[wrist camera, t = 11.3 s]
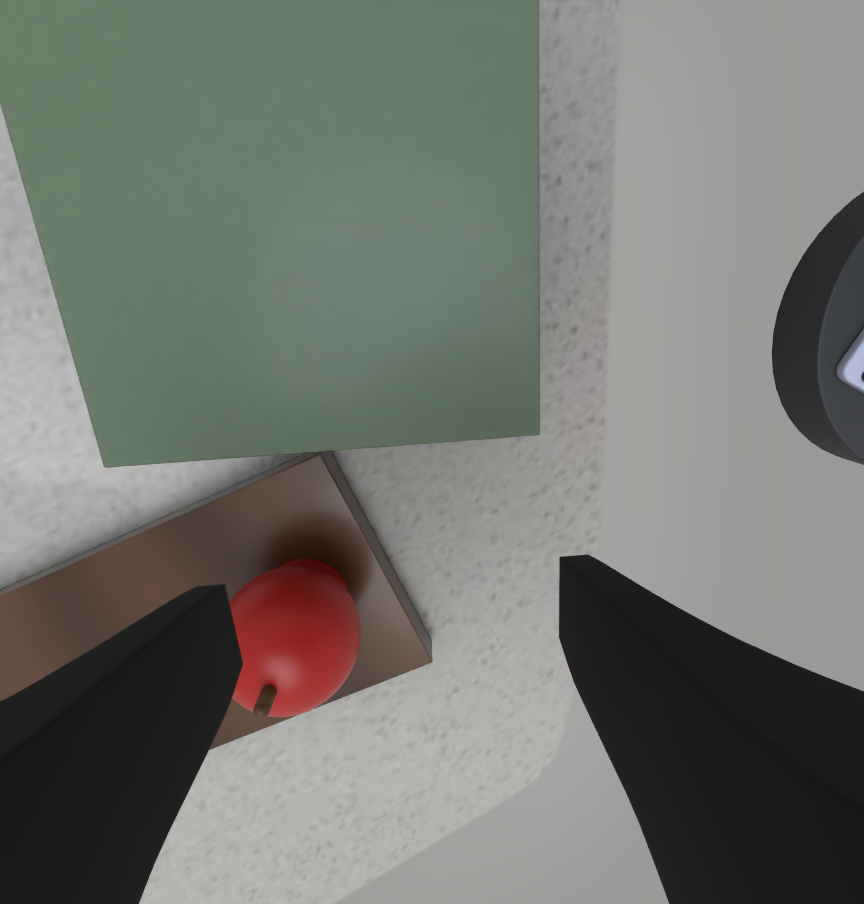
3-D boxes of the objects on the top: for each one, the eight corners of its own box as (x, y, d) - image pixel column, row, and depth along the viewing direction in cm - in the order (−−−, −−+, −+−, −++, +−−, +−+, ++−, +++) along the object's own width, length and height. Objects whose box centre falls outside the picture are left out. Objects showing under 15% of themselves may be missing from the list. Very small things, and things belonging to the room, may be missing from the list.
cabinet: (134, 11, 15) (-102, -249, 8) (483, -10, 15) (538, -283, 8) (217, 414, 19) (103, 468, 12) (495, 394, 19) (540, 435, 12)
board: (327, 443, 19) (320, 453, 18) (432, 640, 22) (433, 662, 21) (-389, 763, 23) (-444, 793, 21) (-216, 898, 25) (-254, 932, 24)
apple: (387, 569, 19) (374, 680, 13) (339, 661, 21) (307, 801, 15) (271, 521, 19) (202, 617, 13) (229, 620, 20) (147, 750, 14)
